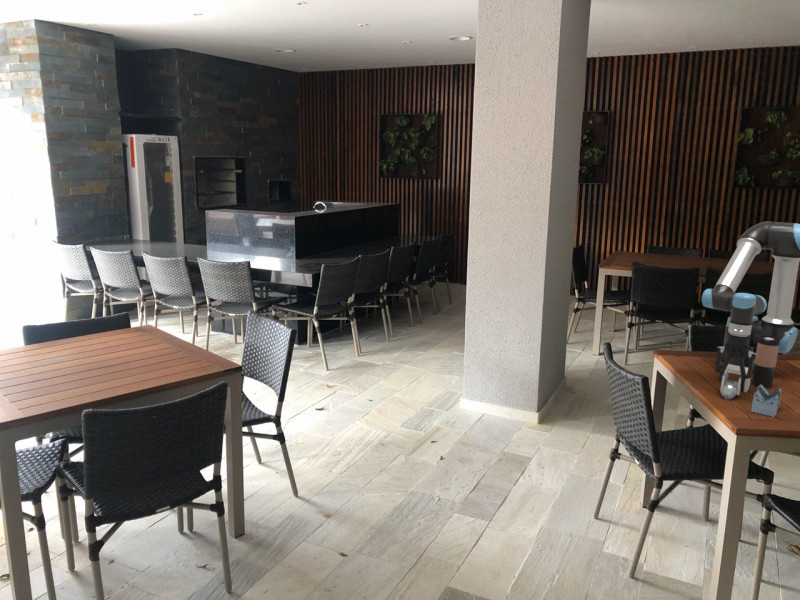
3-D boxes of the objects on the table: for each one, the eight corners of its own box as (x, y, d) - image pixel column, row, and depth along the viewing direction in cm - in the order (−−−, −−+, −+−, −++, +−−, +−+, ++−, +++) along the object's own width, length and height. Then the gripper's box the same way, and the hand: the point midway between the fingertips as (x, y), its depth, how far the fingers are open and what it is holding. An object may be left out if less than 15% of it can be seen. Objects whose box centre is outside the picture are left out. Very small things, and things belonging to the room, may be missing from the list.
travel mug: (765, 382, 266) (773, 335, 262) (776, 388, 259) (784, 340, 255) (747, 381, 266) (754, 334, 262) (757, 387, 258) (765, 339, 254)
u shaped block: (724, 382, 264) (727, 363, 262) (749, 387, 258) (752, 368, 257) (721, 387, 258) (724, 367, 256) (746, 392, 253) (749, 372, 251)
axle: (723, 388, 254) (729, 377, 252) (735, 394, 252) (742, 384, 250) (718, 394, 246) (724, 384, 244) (731, 402, 244) (738, 391, 242)
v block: (756, 402, 242) (759, 383, 240) (778, 407, 238) (781, 388, 236) (751, 411, 232) (754, 392, 231) (774, 417, 228) (777, 397, 226)
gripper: (711, 331, 245) (702, 389, 250) (764, 340, 235) (754, 401, 240) (715, 328, 251) (706, 384, 256) (767, 336, 241) (757, 395, 246)
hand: (730, 392), depth 248 cm, fingers closed on axle, 5 cm apart
